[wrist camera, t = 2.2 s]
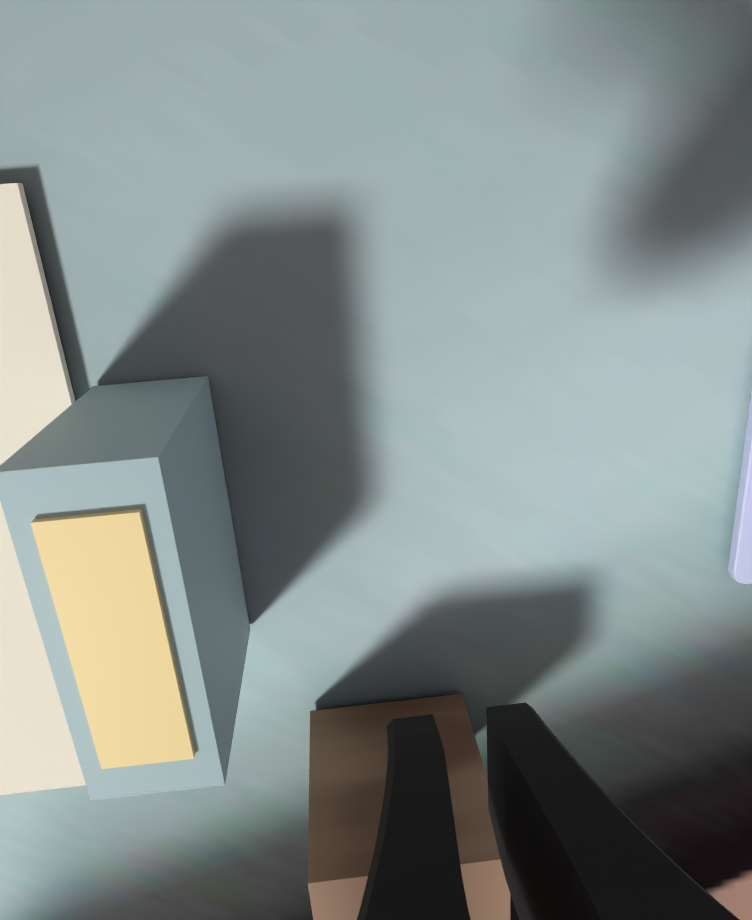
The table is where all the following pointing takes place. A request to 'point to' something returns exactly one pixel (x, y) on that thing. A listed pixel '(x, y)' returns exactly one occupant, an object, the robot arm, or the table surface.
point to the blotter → (3, 587)
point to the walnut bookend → (361, 798)
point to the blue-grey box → (135, 582)
